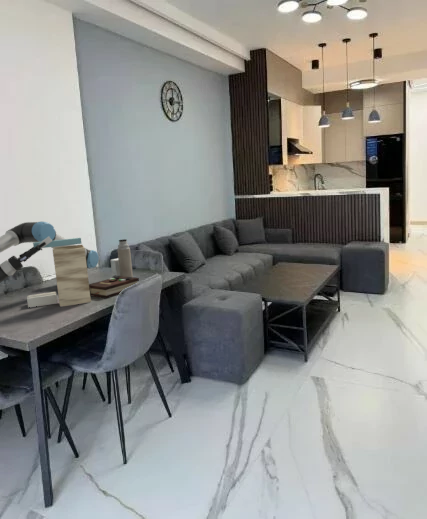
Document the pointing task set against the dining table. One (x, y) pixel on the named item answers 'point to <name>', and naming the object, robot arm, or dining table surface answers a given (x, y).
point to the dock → (42, 299)
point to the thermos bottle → (124, 259)
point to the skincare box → (115, 267)
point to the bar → (61, 242)
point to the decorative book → (111, 286)
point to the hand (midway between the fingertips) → (50, 238)
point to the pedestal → (71, 275)
